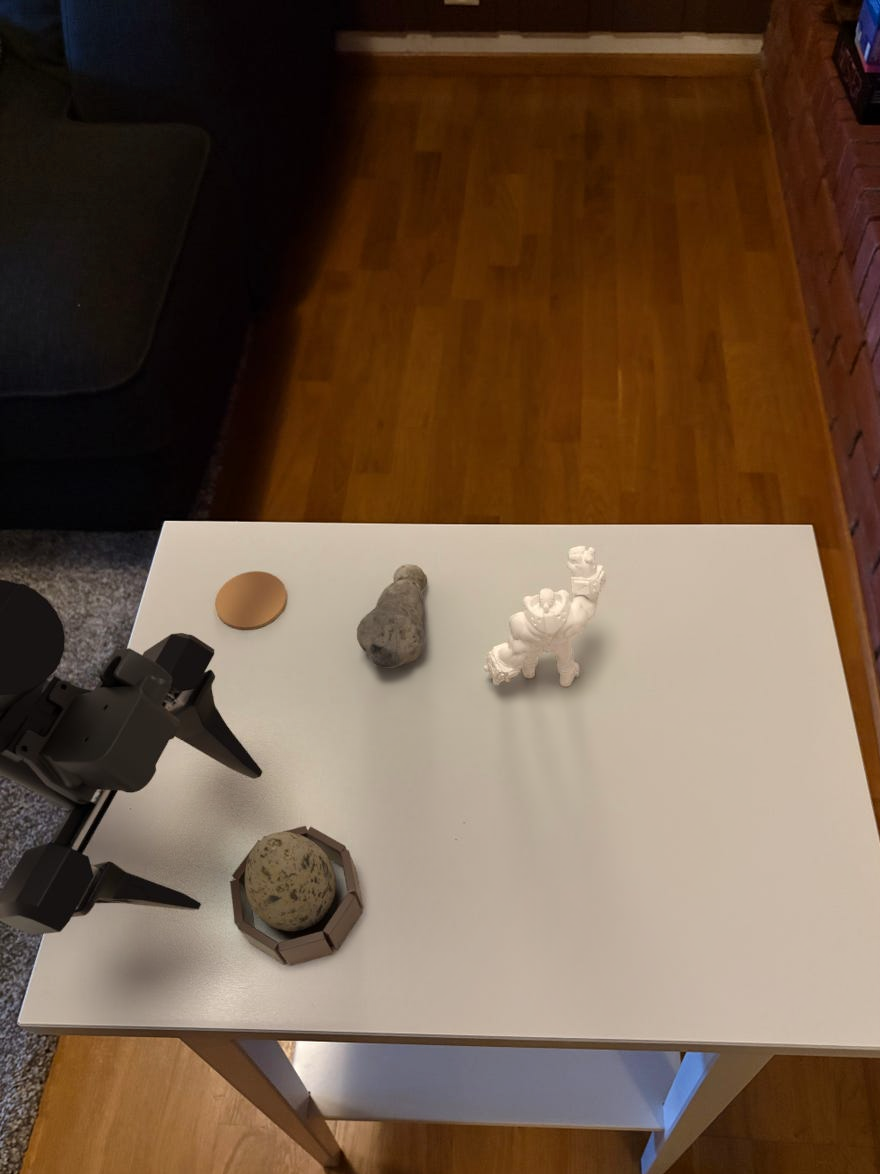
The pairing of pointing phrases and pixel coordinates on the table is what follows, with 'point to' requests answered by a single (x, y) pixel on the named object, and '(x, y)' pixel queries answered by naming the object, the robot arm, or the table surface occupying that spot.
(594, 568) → the figurine
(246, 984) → the table surface
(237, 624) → the coaster
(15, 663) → the robot arm
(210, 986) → the table surface
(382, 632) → the stone
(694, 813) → the table surface
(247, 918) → the egg holder
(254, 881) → the decorative egg
